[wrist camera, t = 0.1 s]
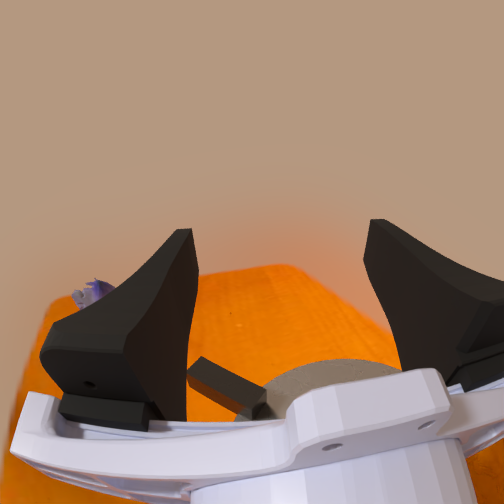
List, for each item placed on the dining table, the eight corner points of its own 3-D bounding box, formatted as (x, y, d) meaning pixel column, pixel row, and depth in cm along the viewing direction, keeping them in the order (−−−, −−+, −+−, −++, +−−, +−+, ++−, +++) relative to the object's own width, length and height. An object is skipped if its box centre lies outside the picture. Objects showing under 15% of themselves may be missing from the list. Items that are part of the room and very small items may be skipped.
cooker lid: (471, 396, 20) (484, 379, 19) (408, 589, 7) (425, 589, 6) (255, 322, 31) (254, 302, 29) (126, 453, 18) (113, 439, 17)
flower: (154, 275, 37) (78, 256, 34) (146, 341, 33) (61, 322, 29) (142, 304, 44) (78, 288, 40) (135, 359, 39) (66, 344, 35)
